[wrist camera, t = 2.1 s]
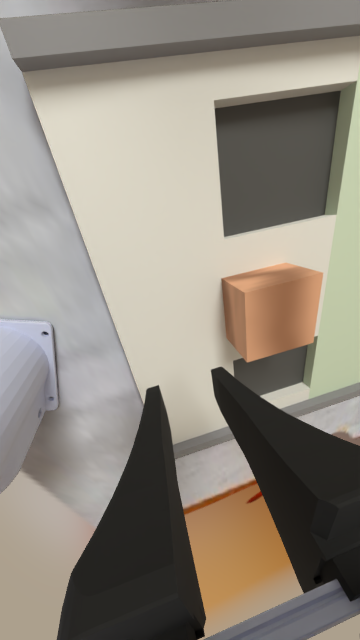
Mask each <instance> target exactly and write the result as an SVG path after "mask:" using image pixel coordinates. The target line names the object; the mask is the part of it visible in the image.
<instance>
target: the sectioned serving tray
mask: <svg viewBox="0 0 360 640" xmlns="http://www.w3.org/2000/svg"><path fill="white" fill-rule="evenodd" d="M0 27H1V29H2V32H3V35H4V38H5V40H6V43H7V46H8V48H9V51H10V54H11V56H12V59H13V60H14V62H15V63H16V64H17V66H18V67H19V69H20V70H21V71H22V73H23V76H24V79H25V82H26V84H27V87H28V90H29V92H30V95H31V98H32V101H33V103H34V106H35V109H36V112H37V114H38V117H39V120H40V123H41V125H42V128H43V131H44V133H45V136H46V139H47V142H48V144H49V147H50V150H51V153H52V155H53V158H54V161H55V163H56V166H57V169H58V172H59V174H60V177H61V180H62V183H63V185H64V188H65V191H66V193H67V196H68V199H69V202H70V204H71V207H72V210H73V213H74V215H75V218H76V221H77V223H78V226H79V229H80V232H81V234H82V237H83V240H84V243H85V245H86V248H87V251H88V253H89V256H90V259H91V262H92V264H93V267H94V270H95V273H96V275H97V278H98V281H99V283H100V286H101V289H102V292H103V294H104V297H105V300H106V303H107V305H108V308H109V311H110V313H111V316H112V319H113V322H114V324H115V327H116V330H117V333H118V335H119V338H120V341H121V343H122V346H123V349H124V352H125V354H126V357H127V360H128V363H129V365H130V368H131V371H132V374H133V376H134V379H135V382H136V384H137V387H138V390H139V393H140V395H141V398H142V401H143V404H144V403H145V396H146V390H147V388H150V387H154V386H157V385H159V387H160V390H161V394H162V397H163V400H164V404H165V407H166V410H167V415H168V419H169V424H170V428H171V434H172V442H173V450H174V458H175V459H177V458H180V457H183V456H186V455H189V454H191V453H194V452H197V451H200V450H203V449H206V448H209V447H212V446H215V445H218V444H221V443H223V442H226V441H229V440H232V439H235V437H234V435H233V433H232V432H231V430H230V428H229V426H228V424H227V423H226V421H225V419H224V417H223V415H222V413H221V411H220V409H219V406H218V404H217V401H216V399H215V397H214V390H213V383H212V375H211V369H214V368H218V367H223V368H224V369H225V370H227V371H228V372H229V373H230V374H231V375H233V376H234V377H235V378H236V379H237V380H239V381H240V382H241V383H242V384H244V385H245V386H246V387H248V388H249V389H251V390H252V391H253V392H255V393H256V394H257V395H259V396H260V397H262V398H263V399H265V400H266V401H268V402H269V403H271V404H273V405H274V406H276V407H277V408H279V409H281V410H283V411H284V412H286V413H288V414H290V415H291V416H293V417H295V418H296V417H299V416H302V415H305V414H308V413H311V412H314V411H316V410H319V409H322V408H325V407H328V406H331V405H334V404H337V403H340V402H343V401H345V400H348V399H351V398H354V397H357V396H360V0H229V1H216V2H203V3H190V4H177V5H165V6H152V7H139V8H126V9H113V10H101V11H88V12H75V13H62V14H49V15H37V16H24V17H11V18H0ZM282 263H290V264H293V265H297V266H301V267H304V268H308V269H312V270H315V271H319V272H323V279H322V286H321V293H320V300H319V307H318V314H317V321H316V328H315V335H314V342H313V343H311V344H307V345H304V346H301V347H297V348H294V349H291V350H287V351H284V352H281V353H277V354H274V355H271V356H267V357H264V358H261V359H257V360H254V361H251V362H246V361H245V360H244V358H243V357H242V356H241V355H240V354H239V352H238V351H237V350H236V349H235V348H234V346H233V345H232V344H231V343H230V342H229V340H228V339H227V338H226V327H225V315H224V304H223V292H222V281H221V278H225V277H229V276H233V275H237V274H241V273H245V272H249V271H253V270H257V269H261V268H265V267H269V266H274V265H278V264H282Z"/></svg>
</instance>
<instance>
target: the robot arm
mask: <svg viewBox="0 0 360 640" xmlns="http://www.w3.org/2000/svg"><path fill="white" fill-rule="evenodd" d="M44 331H45V332H47V333H48V334H49V335H45V334H44V333H43V332H44ZM211 375H212V383H213V390H214V397H215V399H216V401H217V404H218V406H219V409H220V411H221V413H222V415H223V417H224V419H225V421H226V423H227V424H228V426H229V428H230V430H231V432H232V433H233V435H234V437H235V439H236V441H237V442H238V444H239V446H240V448H241V450H242V451H243V453H244V455H245V457H246V459H247V461H248V463H249V465H250V468H251V470H252V472H253V474H254V477H255V479H256V481H257V483H258V485H259V488H260V490H261V492H262V495H263V497H264V499H265V502H266V504H267V506H268V508H269V511H270V513H271V515H272V518H273V520H274V522H275V525H276V527H277V530H278V532H279V534H280V537H281V539H282V542H283V544H284V547H285V549H286V552H287V554H288V556H289V559H290V561H291V564H292V566H293V569H294V571H295V574H296V576H297V579H298V581H299V584H300V586H301V588H302V590H303V592H304V594H302V595H300V596H298V597H296V598H293V599H291V600H289V601H287V602H285V603H283V604H281V605H278V606H276V607H274V608H272V609H269V610H267V611H265V612H263V613H261V614H259V615H257V616H255V617H252V618H250V619H248V620H245V621H243V622H241V623H239V624H237V625H234V626H232V627H230V628H228V629H226V630H223V631H221V632H219V633H217V634H215V635H213V636H210V637H208V638H206V639H204V640H307V639H309V638H311V637H313V636H315V635H317V634H319V633H321V632H323V631H325V630H327V629H329V628H331V627H334V626H336V625H338V624H340V623H342V622H344V621H346V620H348V619H350V618H352V617H354V616H356V615H358V614H360V446H358V445H356V444H353V443H350V442H347V441H345V440H343V439H340V438H338V437H335V436H333V435H331V434H328V433H326V432H324V431H322V430H320V429H317V428H315V427H313V426H311V425H309V424H307V423H305V422H303V421H301V420H299V419H297V418H295V417H293V416H291V415H290V414H288V413H286V412H284V411H283V410H281V409H279V408H277V407H276V406H274V405H273V404H271V403H269V402H268V401H266V400H265V399H263V398H262V397H260V396H259V395H257V394H256V393H255V392H253V391H252V390H251V389H249V388H248V387H246V386H245V385H244V384H242V383H241V382H240V381H239V380H237V379H236V378H235V377H234V376H233V375H231V374H230V373H229V372H228V371H227V370H225V369H224V368H223V367H218V368H214V369H211ZM51 397H53V398H51ZM58 405H59V401H58V388H57V375H56V363H55V350H54V337H53V327H52V325H51V323H49V322H46V321H27V320H7V319H0V494H1V492H3V491H4V490H5V489H6V488H7V486H9V484H10V483H11V482H12V481H13V479H14V478H15V477H16V475H17V474H18V472H19V471H20V469H21V467H22V464H23V462H24V460H25V457H26V455H27V453H28V450H29V448H30V446H31V443H32V441H33V439H34V436H35V434H36V432H37V429H38V427H39V425H40V422H41V420H42V418H43V415H44V413H45V411H48V410H55V409H57V408H58ZM205 620H206V616H205V612H204V607H203V602H202V598H201V593H200V588H199V584H198V579H197V574H196V570H195V565H194V560H193V555H192V551H191V546H190V541H189V536H188V532H187V527H186V522H185V517H184V512H183V507H182V503H181V498H180V493H179V488H178V481H177V475H176V467H175V458H174V450H173V442H172V434H171V428H170V424H169V419H168V415H167V410H166V407H165V404H164V400H163V397H162V394H161V390H160V387H159V385H157V386H154V387H150V388H147V390H146V396H145V403H144V408H143V413H142V417H141V421H140V425H139V429H138V432H137V435H136V438H135V442H134V445H133V448H132V451H131V454H130V456H129V459H128V462H127V464H126V467H125V469H124V472H123V474H122V476H121V479H120V481H119V483H118V486H117V488H116V490H115V492H114V494H113V497H112V499H111V501H110V503H109V505H108V507H107V509H106V511H105V513H104V515H103V517H102V519H101V521H100V522H99V524H98V526H97V528H96V530H95V532H94V534H93V536H92V538H91V539H90V541H89V543H88V544H87V546H86V548H85V550H84V552H83V553H82V555H81V557H80V559H79V560H78V562H77V564H76V566H75V568H74V569H73V571H72V573H71V576H70V580H69V583H68V587H67V591H66V596H65V599H64V603H63V607H62V612H61V618H60V624H59V630H58V636H57V640H198V639H200V638H202V637H204V636H205V635H204V629H203V628H204V625H205Z"/></svg>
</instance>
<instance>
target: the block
mask: <svg viewBox="0 0 360 640" xmlns="http://www.w3.org/2000/svg"><path fill="white" fill-rule="evenodd" d="M322 279H323V272H319V271H315V270H312V269H308V268H304V267H301V266H297V265H293V264H290V263H282V264H278V265H274V266H269V267H265V268H261V269H257V270H253V271H249V272H245V273H241V274H237V275H233V276H229V277H225V278H221V281H222V292H223V304H224V315H225V327H226V338H227V339H228V340H229V342H230V343H231V344H232V345H233V346H234V348H235V349H236V350H237V351H238V352H239V354H240V355H241V356H242V357H243V358H244V360H245V361H246V362H251V361H254V360H257V359H261V358H264V357H267V356H271V355H274V354H277V353H281V352H284V351H287V350H291V349H294V348H297V347H301V346H304V345H307V344H311V343H313V342H314V335H315V328H316V321H317V314H318V307H319V300H320V293H321V286H322Z"/></svg>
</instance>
